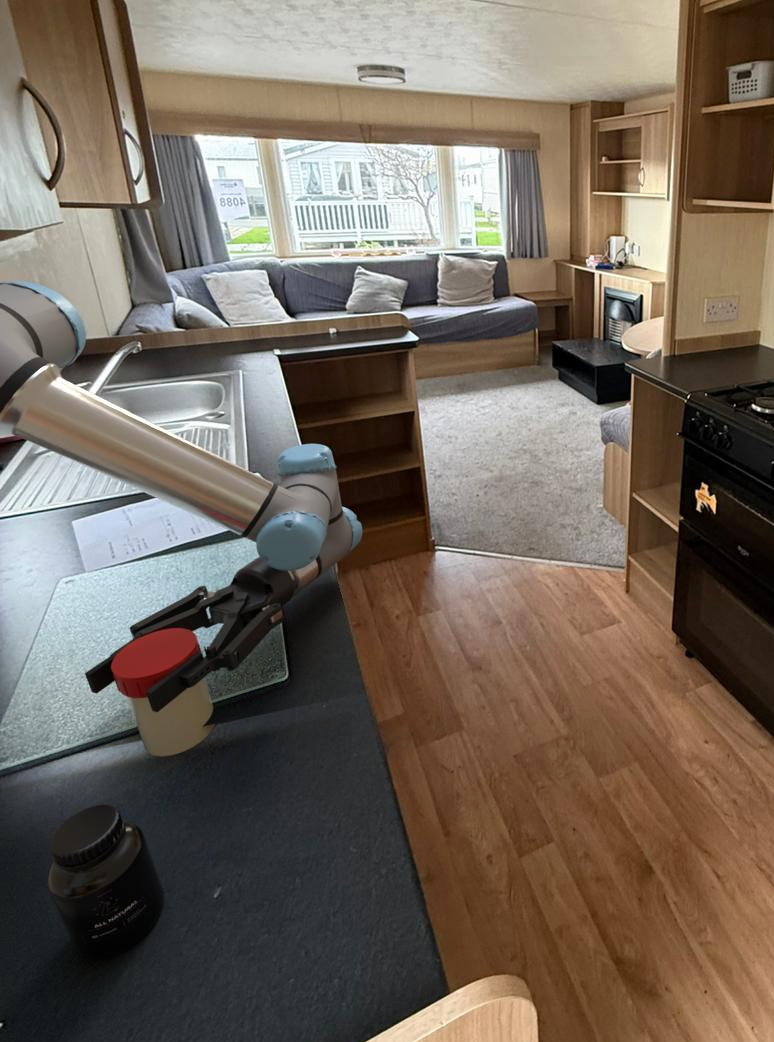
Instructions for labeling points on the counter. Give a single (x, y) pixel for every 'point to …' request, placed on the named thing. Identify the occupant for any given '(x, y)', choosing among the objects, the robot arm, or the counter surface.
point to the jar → (174, 721)
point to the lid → (152, 659)
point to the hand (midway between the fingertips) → (120, 692)
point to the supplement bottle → (103, 881)
